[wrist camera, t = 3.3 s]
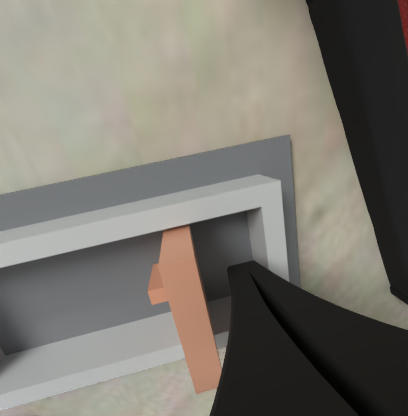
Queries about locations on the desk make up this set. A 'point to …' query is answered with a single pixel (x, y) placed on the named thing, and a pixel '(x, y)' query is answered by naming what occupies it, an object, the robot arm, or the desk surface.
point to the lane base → (131, 262)
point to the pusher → (187, 305)
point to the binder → (373, 111)
